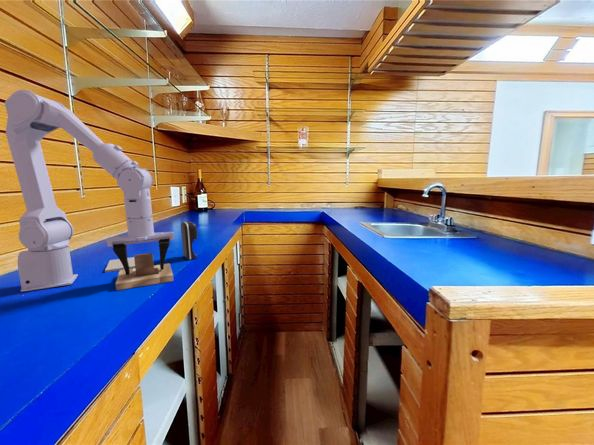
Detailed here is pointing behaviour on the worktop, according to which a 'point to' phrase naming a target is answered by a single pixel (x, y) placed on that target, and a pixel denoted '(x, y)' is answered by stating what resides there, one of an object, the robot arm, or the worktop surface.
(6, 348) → the worktop surface
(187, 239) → the coffee machine
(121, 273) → the wooden board
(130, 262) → the mat
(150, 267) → the block
